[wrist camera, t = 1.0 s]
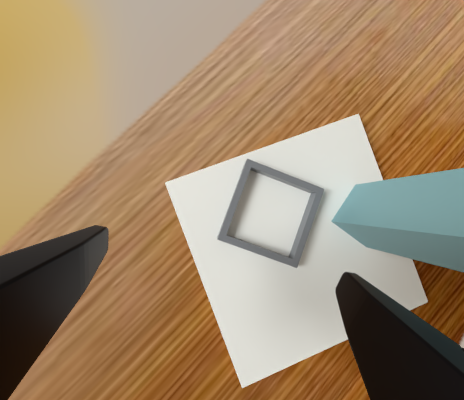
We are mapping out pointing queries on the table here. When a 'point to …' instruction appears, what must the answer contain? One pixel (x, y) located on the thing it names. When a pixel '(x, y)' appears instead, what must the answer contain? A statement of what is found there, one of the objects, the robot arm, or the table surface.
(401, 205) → the post
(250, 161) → the socket
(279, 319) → the baseplate
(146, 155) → the table surface
